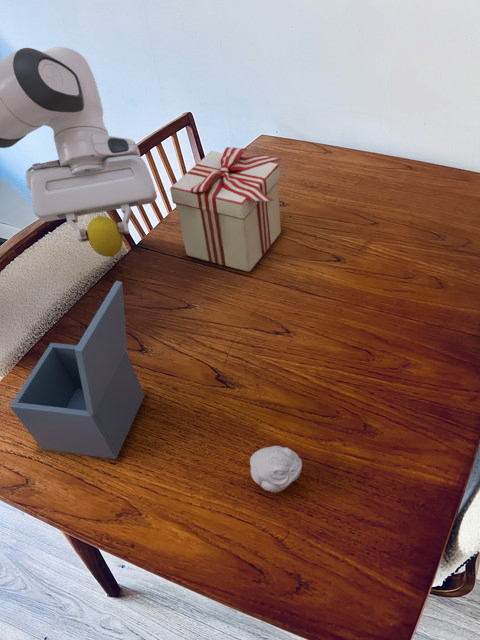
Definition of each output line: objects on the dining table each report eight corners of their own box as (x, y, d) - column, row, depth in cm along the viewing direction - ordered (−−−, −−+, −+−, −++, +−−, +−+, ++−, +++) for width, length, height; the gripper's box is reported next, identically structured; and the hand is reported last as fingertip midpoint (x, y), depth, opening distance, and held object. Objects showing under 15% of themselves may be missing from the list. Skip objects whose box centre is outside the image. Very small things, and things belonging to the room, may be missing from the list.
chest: (41, 449, 75) (9, 406, 67) (76, 387, 82) (50, 342, 75) (116, 459, 73) (91, 416, 65) (144, 395, 80) (125, 349, 73)
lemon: (128, 245, 94) (115, 205, 88) (127, 263, 91) (113, 223, 85) (97, 249, 94) (82, 210, 88) (95, 268, 90) (79, 228, 84)
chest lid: (74, 349, 55) (81, 351, 55) (116, 280, 63) (122, 281, 63) (87, 413, 65) (93, 414, 65) (122, 346, 72) (127, 348, 72)
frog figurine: (292, 511, 66) (290, 484, 61) (244, 492, 68) (237, 465, 63) (310, 472, 70) (309, 443, 65) (263, 455, 72) (258, 427, 67)
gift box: (269, 277, 97) (261, 193, 84) (182, 261, 102) (162, 179, 89) (299, 227, 107) (296, 145, 94) (219, 214, 112) (205, 135, 99)
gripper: (15, 159, 83) (36, 244, 84) (143, 138, 86) (161, 222, 87) (29, 172, 89) (48, 251, 91) (147, 152, 92) (165, 230, 93)
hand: (104, 237), depth 89 cm, fingers closed on lemon, 5 cm apart
